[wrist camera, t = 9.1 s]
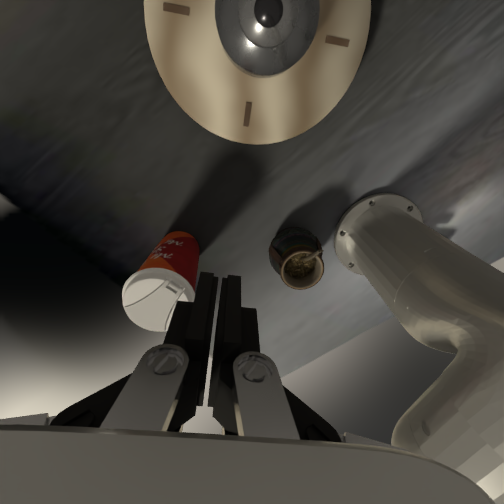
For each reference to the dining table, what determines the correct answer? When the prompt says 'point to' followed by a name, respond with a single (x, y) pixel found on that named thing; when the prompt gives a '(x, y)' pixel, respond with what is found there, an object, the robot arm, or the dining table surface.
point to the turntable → (247, 87)
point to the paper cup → (162, 282)
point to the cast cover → (266, 33)
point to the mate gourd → (297, 257)
